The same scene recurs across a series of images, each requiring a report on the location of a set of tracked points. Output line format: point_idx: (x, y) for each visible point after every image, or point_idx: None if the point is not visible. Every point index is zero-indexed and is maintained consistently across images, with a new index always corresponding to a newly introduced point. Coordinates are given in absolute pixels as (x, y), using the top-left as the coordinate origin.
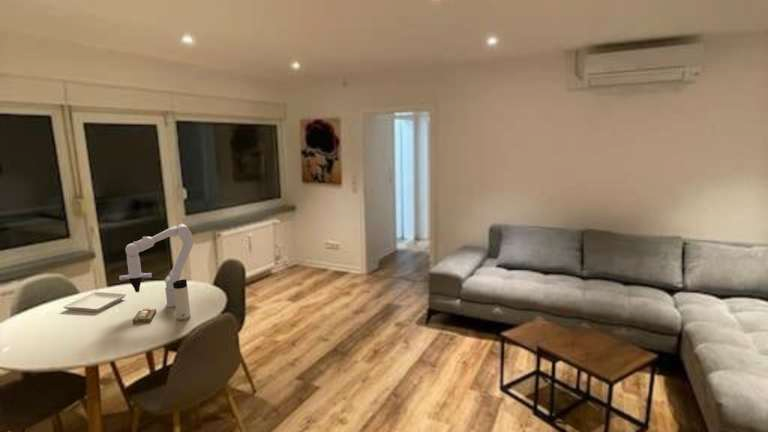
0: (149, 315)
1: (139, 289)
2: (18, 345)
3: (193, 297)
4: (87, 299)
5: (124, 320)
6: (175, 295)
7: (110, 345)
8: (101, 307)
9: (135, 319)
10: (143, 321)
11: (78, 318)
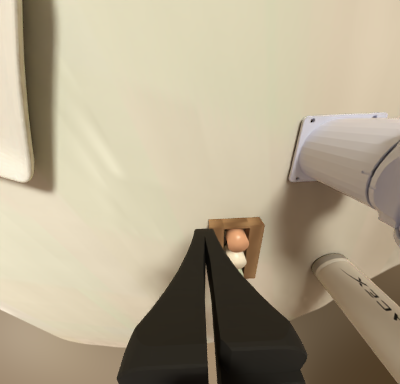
0: (249, 263)
1: (215, 236)
2: (13, 305)
3: None
4: None
5: (178, 246)
6: (391, 374)
7: None
8: (31, 164)
9: None
10: None
11: (10, 203)
